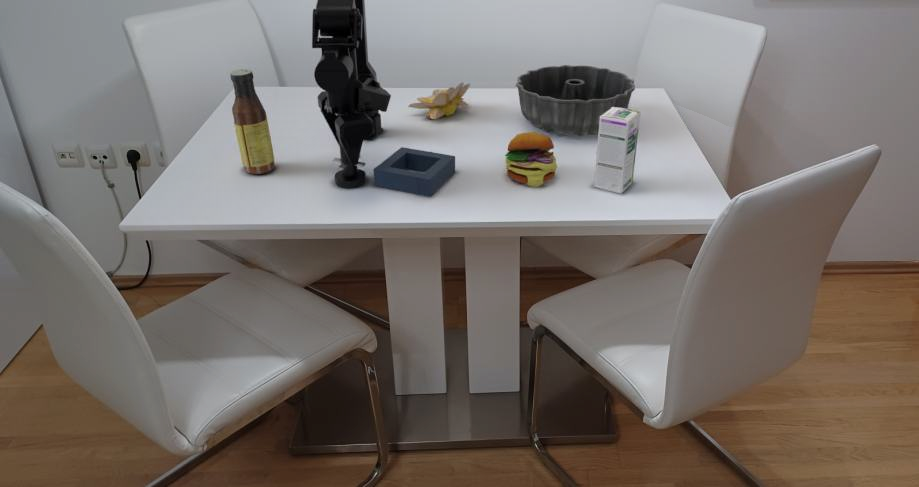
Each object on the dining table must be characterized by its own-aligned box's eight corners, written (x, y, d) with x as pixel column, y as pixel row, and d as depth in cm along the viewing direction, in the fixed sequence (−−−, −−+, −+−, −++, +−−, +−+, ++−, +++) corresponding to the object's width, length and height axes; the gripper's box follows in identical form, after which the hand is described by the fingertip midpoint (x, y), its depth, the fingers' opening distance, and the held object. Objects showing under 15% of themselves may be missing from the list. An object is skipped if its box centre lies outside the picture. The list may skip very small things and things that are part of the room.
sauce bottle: (281, 165, 145) (268, 68, 135) (264, 177, 140) (249, 78, 130) (253, 161, 147) (238, 65, 137) (236, 173, 142) (218, 74, 132)
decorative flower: (447, 91, 180) (451, 55, 173) (479, 112, 174) (484, 75, 168) (402, 110, 171) (404, 73, 164) (434, 132, 166) (438, 95, 159)
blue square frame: (374, 186, 137) (373, 169, 135) (402, 162, 146) (401, 146, 145) (430, 196, 133) (429, 179, 131) (455, 172, 142) (455, 155, 141)
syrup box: (621, 194, 134) (631, 120, 126) (592, 187, 136) (599, 114, 129) (632, 183, 138) (642, 110, 130) (603, 176, 140) (611, 105, 133)
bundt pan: (499, 135, 159) (500, 92, 154) (532, 99, 180) (534, 59, 175) (618, 152, 151) (624, 106, 146) (638, 111, 172) (643, 70, 167)
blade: (326, 185, 137) (321, 136, 132) (344, 172, 142) (340, 124, 137) (357, 191, 135) (352, 141, 130) (374, 177, 140) (370, 129, 135)
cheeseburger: (508, 189, 135) (507, 136, 132) (501, 178, 145) (500, 129, 142) (561, 186, 136) (561, 133, 133) (550, 176, 146) (550, 126, 143)
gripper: (400, 84, 123) (404, 167, 131) (370, 56, 138) (375, 132, 146) (336, 92, 119) (344, 177, 127) (313, 62, 134) (321, 140, 142)
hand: (348, 155), depth 136 cm, fingers open, 9 cm apart
